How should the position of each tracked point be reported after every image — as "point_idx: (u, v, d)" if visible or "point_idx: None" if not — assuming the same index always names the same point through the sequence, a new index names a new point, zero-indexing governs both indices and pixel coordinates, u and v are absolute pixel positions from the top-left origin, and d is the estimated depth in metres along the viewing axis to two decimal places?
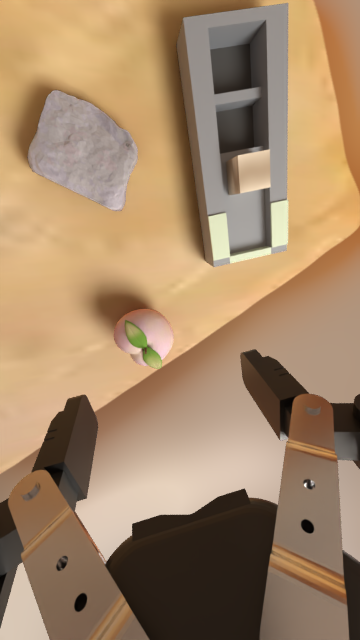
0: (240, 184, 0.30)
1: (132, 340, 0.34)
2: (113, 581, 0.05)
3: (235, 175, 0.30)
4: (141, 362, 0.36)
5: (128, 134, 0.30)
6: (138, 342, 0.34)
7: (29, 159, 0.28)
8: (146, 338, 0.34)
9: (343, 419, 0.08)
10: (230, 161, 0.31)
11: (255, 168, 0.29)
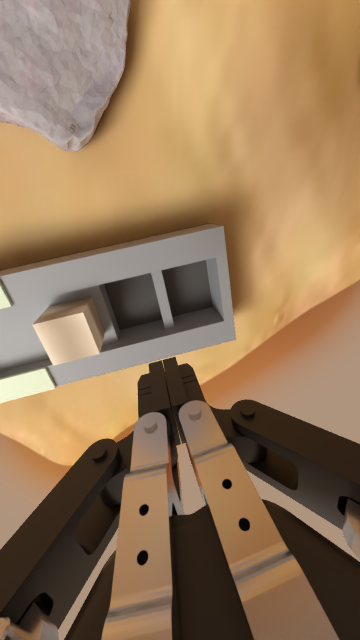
0: (45, 322, 0.19)
1: None
2: (170, 567, 0.05)
3: (63, 312, 0.20)
4: None
5: (88, 131, 0.18)
6: None
7: None
8: None
9: (221, 424, 0.09)
10: (85, 302, 0.21)
11: (72, 339, 0.20)
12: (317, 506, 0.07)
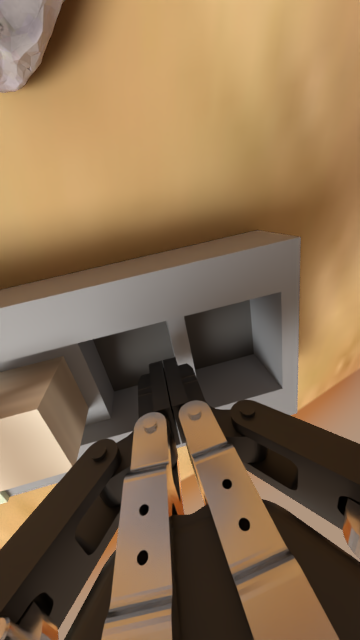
0: None
1: None
2: (170, 567, 0.05)
3: (3, 400, 0.11)
4: None
5: (30, 37, 0.09)
6: None
7: None
8: None
9: (221, 424, 0.09)
10: (50, 374, 0.12)
11: (19, 453, 0.11)
12: (317, 506, 0.07)
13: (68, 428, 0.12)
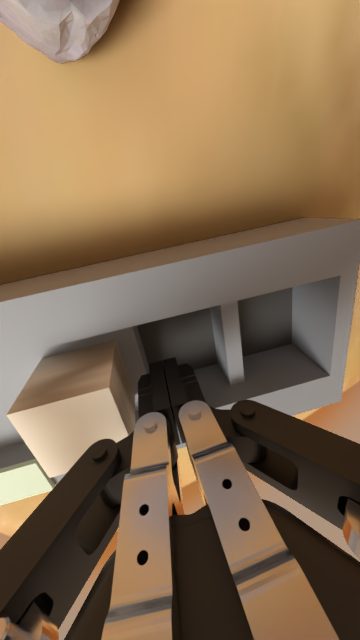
0: (33, 409, 0.10)
1: None
2: (171, 567, 0.05)
3: (68, 380, 0.11)
4: None
5: None
6: None
7: None
8: None
9: (221, 424, 0.09)
10: (108, 356, 0.12)
11: (85, 434, 0.10)
12: (317, 506, 0.07)
13: (127, 411, 0.12)
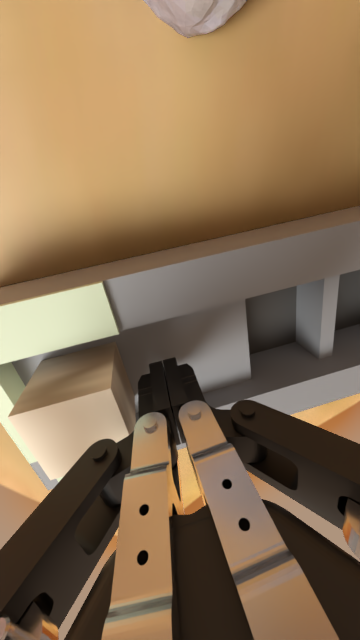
0: (35, 411, 0.10)
1: None
2: (171, 567, 0.05)
3: (69, 382, 0.11)
4: None
5: None
6: None
7: None
8: None
9: (221, 424, 0.09)
10: (109, 358, 0.12)
11: (86, 436, 0.10)
12: (317, 506, 0.07)
13: (128, 412, 0.12)
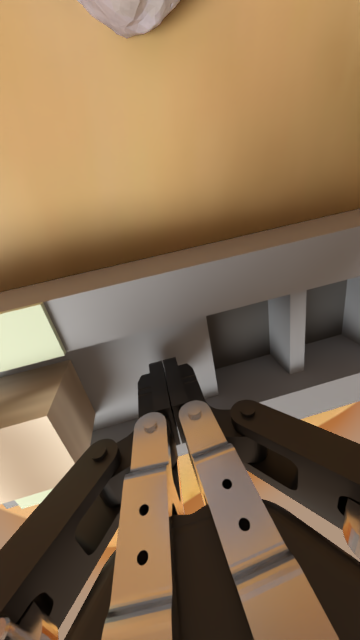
0: None
1: None
2: (170, 567, 0.05)
3: (10, 407, 0.10)
4: None
5: None
6: None
7: None
8: None
9: (221, 424, 0.09)
10: (57, 379, 0.11)
11: (27, 462, 0.10)
12: (317, 506, 0.07)
13: (77, 435, 0.11)
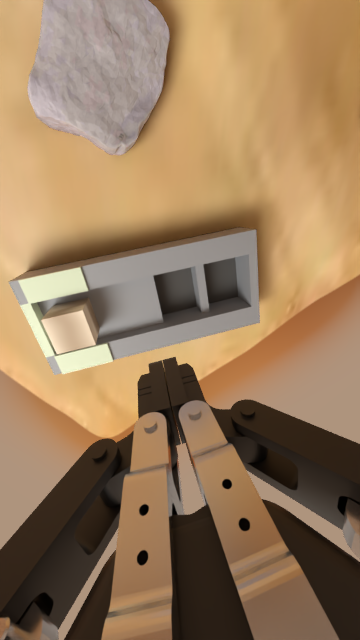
0: (51, 318, 0.24)
1: None
2: (170, 568, 0.05)
3: (65, 310, 0.25)
4: None
5: (133, 139, 0.23)
6: None
7: None
8: None
9: (221, 424, 0.09)
10: (84, 302, 0.26)
11: (73, 332, 0.25)
12: (317, 506, 0.07)
13: (92, 327, 0.26)
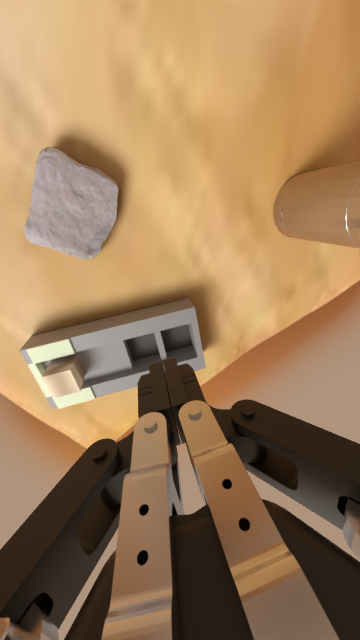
0: (49, 375, 0.34)
1: None
2: (170, 567, 0.05)
3: (59, 368, 0.36)
4: None
5: (97, 252, 0.33)
6: None
7: (50, 150, 0.27)
8: None
9: (221, 424, 0.09)
10: (72, 361, 0.37)
11: (64, 384, 0.35)
12: (317, 506, 0.07)
13: (78, 378, 0.37)
